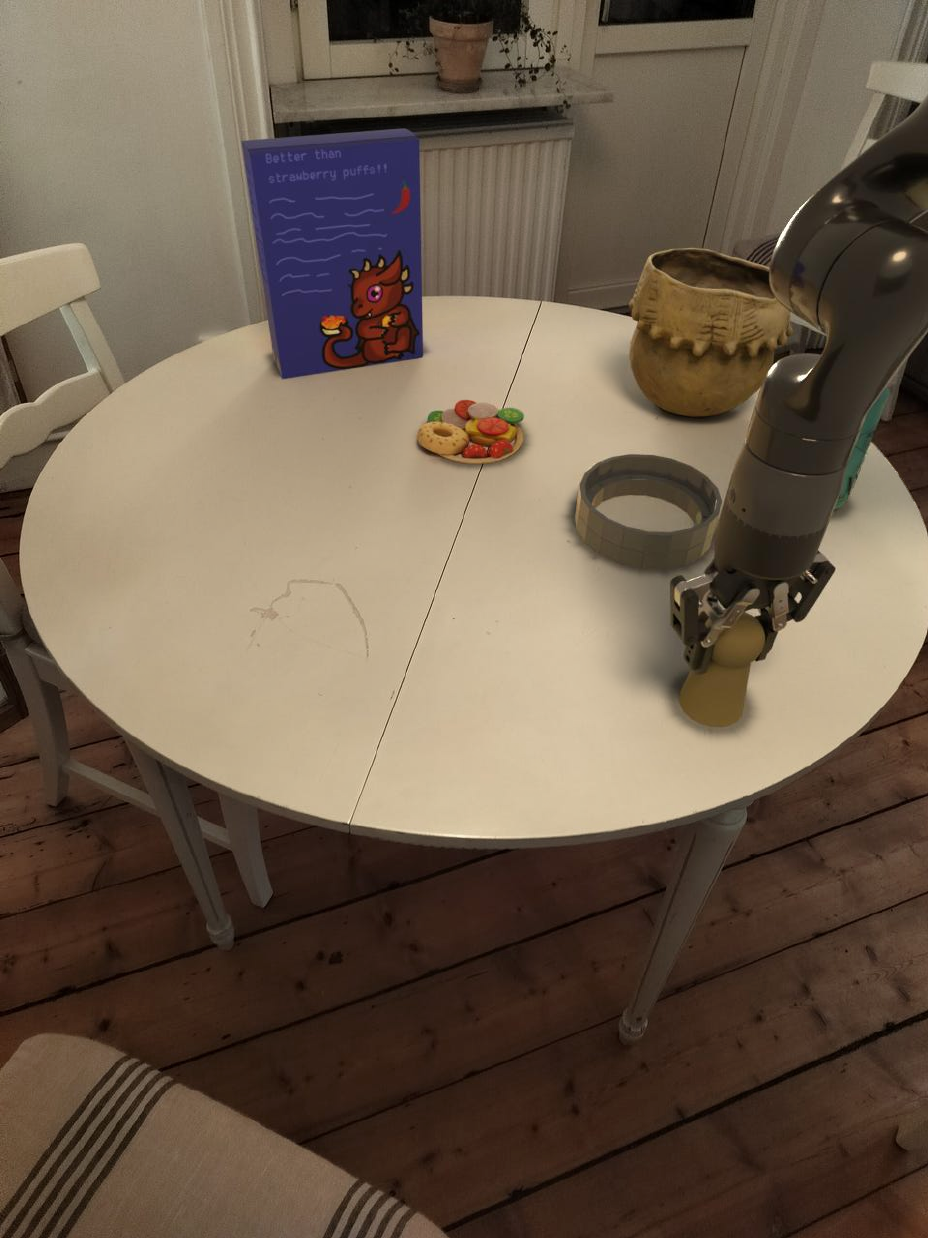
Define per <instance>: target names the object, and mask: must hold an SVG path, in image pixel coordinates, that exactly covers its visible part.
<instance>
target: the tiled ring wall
mask: <svg viewBox="0 0 928 1238" xmlns="http://www.w3.org/2000/svg"><path fill="white" fill-rule="evenodd" d="M625 496H644V497H649V498H655V499H659V500H662V501H665V502H667V503H670V504H672V505H675V506H676V507H678V508H679V509H681V510H682V511H684V512H685V513H686V514H687V516H689V518H691V520H692V521H693V523H694V526H692V527H689V528H685V529H679V530H673V531H651V530H649V531H648V530H644V529H639V528H635V527H632V526H631V527H630V526H627V525H624V524H622V523H619V522H618V521H615V520H613V519H611V518H608V517H607V516H606V515H605V514H603V513H601V512H600V510H598V509H597V507H598V506H600V505H601V504H602V503H604V502H607V501H609V500H611V499H614V498H619V497H625ZM576 501H577V502H576V507H575V514H574V522H575V530H576V533H578V536H579V537H580V538H581V541H582V542H583V544H585V545H586V546H587V547H589V548H590V549H591V550H592V551H594V552H595V553H596V554H597V555H599V556H600V557H603V558H605V559H606V560H609V561H612V562H614V563H616V564H618V565H622V566H627V567H629V568H630V567H631V568H634V569H635V568H636V569H640V570H660V571H662V570H670V569H675V568H681V567H684V566H687V565H689V564H691V563H693V562H695V561H697V560H699V559H701V558H702V557H703V555H705V553H706V552H707V551H708V550H709V549H710V547H711V545H712V541H713V539H714V535H715V532H716V528H717V525H718V521H719V518H720V514H721V510H722V505H723V499H722V497H721V493H720V490H719V487H718V486H717V485H716V484H715V483H714V482H713V481H712V480H711V478H709V476H707V475H706V474H704V473H703V472H701V470H698V468H695V467H694V466H692V465H690V464H687V463H684V462H682V461H679V460H677V459H674V458H670V457H666V456H662V455H661V456H660V455H656V454H643V453H641V454H639V453H637V454H636V453H629V454H622V455H621V454H620V455H615V456H611V457H609V458H605V459H603V460H601V461H598V462H595V463H594V464H593V465H592V466H590V467H589V468H588V469H587V470H586V471H585V472H584V473H583V475H582V478H581V479H580V482H579V484H578V492H577V500H576Z"/></svg>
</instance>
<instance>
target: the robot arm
mask: <svg viewBox="0 0 928 1238" xmlns="http://www.w3.org/2000/svg"><path fill="white" fill-rule="evenodd" d="M926 213H928V94H927V95H926V96H925V97H924V99H923V100H922V101H921V102H920V104H919V105H918V106H917V107H916V109H915V110H914V111H913V112H912V113H911V114H909V116H908V117H907V116H906V118H905V119H904V120H902V121H901V122H900V123H898V125H896V126H894V127H893V128H892V129H891V130H889V131H888V132H886V133H885V134H884V135H883V136H881V137H880V138H879V139H877V140H876V141H875V142H873V143H872V144H871V145H870V146H868V148H867V149H865V150H864V151H863V152H862V153H861V154H859V155H858V156H857V157H856V158H854V159H853V160H852V161H851V162H850V163H848V164H847V165H846V166H845V167H844V168H843V169H841V170H840V171H838V172H837V173H836V174H835V175H834V176H833V177H831V178H830V179H829V180H828V181H827V182H825V184H823V185H822V186H821V187H819V188H818V190H816V191H815V193H813V194H811V196H810V197H809V198H808V199H807V200H806V201H805V202H804V203H803V204H801V206H800V207H799V209H797V211H796V212H795V213H794V215H793V216H792V217H791V219H790V220H789V221H788V222H787V224H786V226H785V228H784V229H783V230H782V233H781V234H780V236H779V238H778V240H777V243H776V244H775V247H774V249H773V252H772V255H771V259H770V264H769V268H770V269H769V283H770V287H771V290H772V293H773V295H774V296H775V298H776V299H777V300H778V301H779V303H780V304H781V305H782V306H784V307H785V308H786V309H787V310H789V311H790V313H792V314H793V315H795V316H796V317H798V318H800V319H801V320H802V321H805V322H806V323H808V324H809V325H811V326H812V327H813V328H815V329H817V330H818V331H820V332H821V333H823V334H824V335H826V340H825V346H824V348H823V350H822V352H821V354H819V353H810V352H809V353H808V352H807V353H806V352H804V353H795V354H791V355H788V356H784V357H782V358H780V359H778V360H777V361H776V362H775V363H773V366H772V367H771V368H770V369H769V371H768V372H767V374H766V376H765V378H764V380H763V382H762V385H761V387H760V388H759V390H758V395H757V398H756V402H755V405H754V408H753V411H752V415H751V418H750V422H749V425H748V428H747V433H746V436H745V440H744V442H743V445H742V447H741V449H740V451H739V453H738V455H737V458H736V460H735V462H734V465H733V468H732V472H731V475H730V479H729V483H728V487H727V489H726V493H725V496H724V500H723V503H722V506H721V510H720V513H719V517H718V520H717V524H716V527H715V531H714V535H713V551H714V554H713V558H712V559H711V561H710V562H709V564H708V565H707V566H706V568H705V569H704V571H703V574H702V575H700V576H696V577H694V578H691V579H688V580H686V578H685V577H684V575H681V574H678V575H676V576H674V577H672V579H671V580H670V582H669V621H670V622H669V623H670V626H671V628H672V630H673V631H674V632H675V633H676V635H677V636H678V638H679V639H680V641H681V642H682V643H683V645H684V646H685V648H684V652H683V655H682V656H683V660H684V661H685V663H686V664H687V666H688V668H690V671H691V670H692V671H694V672H695V674H696V675H700V674H705V673H706V672H707V668H708V665H709V662H710V659H711V656H712V653H713V650H714V647H715V645H714V643H715V641H716V640H717V638H718V637H719V636H720V634H721V633H722V632H723V630H724V629H725V628H727V629H730V628H732V626H733V625H734V624H735V622H736V621H737V620H738V618H739V617H740V616H741V614H742V613H743V612H746V613H747V612H748V611H750V610H757V612H758V613H759V615H753V617H755V618H756V619H757V620H758V621H759V623H760V624H761V625H762V627H763V630H764V634H765V643H764V647H763V650H762V652H761V653H760V654H759V656H758V657H757V658H756V659H755V660H754V662H761V661H764V660H766V658H767V655H768V654H769V653H770V652H771V650H772V649H773V647H774V644H775V642H776V639H777V636H778V633H779V632H781V631H783V630H784V629H785V628H786V627H787V624H788V622H791V621H792V620H793V622H795V623H800V622H802V621H803V620H805V619H806V618H807V616H808V615H809V613H810V612H811V610H812V609H813V607H814V605H815V603H816V602H817V600H818V599H819V597H820V595H821V594H822V593H823V591H824V589H825V588H826V586H827V585H828V583H829V581H830V580H831V578H832V577H833V575H834V573H835V572H836V566H835V565H833V564H832V562H831V561H830V560H829V559H828V558H827V557H826V556H825V555H824V554H823V553H822V552H821V551H820V550H819V549H820V547H821V544H822V541H823V538H824V535H825V534H826V531H827V528H828V526H829V524H830V521H831V519H832V516H833V513H834V511H835V509H834V508H835V506H836V503H837V501H838V498H839V496H840V493H841V490H842V487H843V483H844V478H845V473H846V469H847V466H848V462H849V460H850V457H851V455H852V452H853V450H854V447H855V445H856V442H857V440H858V437H859V434H860V432H861V429H862V427H863V424H864V421H865V418H866V415H867V413H868V412H869V410H870V408H871V407H872V406H873V404H874V403H875V401H876V400H877V399H878V397H879V396H880V395H881V393H882V392H883V391H884V389H885V388H886V386H887V387H888V385H889V384H890V383H891V382H892V380H893V378H894V377H895V376H896V374H897V373H898V372H899V370H900V369H901V368H902V366H903V365H904V363H905V362H906V361H907V359H908V358H909V357H910V356H911V354H912V353H913V352H914V351H915V349H916V348H917V346H918V345H919V344H920V343H921V342H922V340H924V338H925V336H926V335H927V334H928V230H926V229H923V228H922V227H919V226H917V225H915V224H913V223H914V221H916V220H917V219H919V218H920V217H922V216H923V215H925V214H926ZM798 594H800V596H801V598H800V600H799V601H797V600H796V598H797V596H798ZM721 606H722V607H721ZM725 609H726V611H725V612H724V610H725ZM709 618H710V619H711V624H710V626H709V627H708V628H707V626H706V625H705V623H706V621H707V620H708V619H709Z"/></svg>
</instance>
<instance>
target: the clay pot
mask: <svg viewBox="0 0 928 1238" xmlns="http://www.w3.org/2000/svg"><path fill="white" fill-rule="evenodd" d="M769 269H770V266H766V265H763V264H759V263H756V262H753V261H750V260H747V259H743V258H740V257H735V256H730V255H727V254H723V253H720V252H718V251H715V250H711V249H708V248H697V247H685V248H670V249H667V250H662V251H657V252H655V253H652V254H650V255H648V257H647V260H646V262H645V264H644V267H643V269H642V272H641V275H640V278H639V281H638V283H637V286H636V289H635V290H634V294H633V296H632V298H631V299H630V300H629V303H628V307H629V309H630V310H631V318H632V320H633V321H634V322H635V321H636V322H637V323H636V327H635V329H634V331H633V334H632V336H631V340H630V345H629V354H628V356H629V363H630V368H631V372H632V375H633V377H634V379H635V381H636V384H637V386H638V387H639V389H640V390H641V391H642V393H643V394H644V396H645V397H646V398H647V399H648V400H649V401H650V402H652V403H653V404H654V405H655V406H657V407H659V408H661V409H662V410H664V411H666V412H667V413H671V414H674V415H681V416H686V417H696V418H697V417H709V416H716V415H720V414H724V413H726V412H729V411H731V410H734V409H735V408H737V407H739V406H740V405H742V404H743V403H745V402H746V401H747V400H748V399H750V398H751V397H752V396H753V395H754V394H755V393H756V392H759V391H760V388H761V385H762V382H763V380H764V378H765V376H766V374H767V372H768V371H769V369H770V368H771V367H772V366H773V365H774V359H775V352H776V350H777V349H778V345H779V346H784V345H785V344H787V343H788V337H792V335H793V333H794V330H793V328H792V326H791V312H790V311H789V310H787V309H786V308H785V307H784V306H782V305H781V304H780V303H779V301H778V300H777V299H776V298H775V296H774V295H773V293H772V290H771V287H770V283H769Z"/></svg>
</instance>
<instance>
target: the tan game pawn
mask: <svg viewBox="0 0 928 1238" xmlns="http://www.w3.org/2000/svg"><path fill="white" fill-rule="evenodd" d="M723 610H724V612H725V611H726V609H725V608H724V609H723ZM710 624H711V619H710V618H709V619H708V620H707V621H706V623H705V625H706V626H707V628H708V627H709V626H710ZM764 643H765V634H764V630H763V627H762V625H761V624H760V623H759V621H758V620H757V619H756V618H755V617H754V615H752V614H750V613H748V612H747V611H746V612H743V613H742V614H741V616H740V617H739V618H738V620H737V621H736V622H735V624H734V625H733V626H732V628H730V629H727V628H725V629H724V630H723V632H722V633H721V634H720V636H719V637H718V638H717V640H716V641H715V643H714V645H715V647H714V650H713V653H712V656H711V659H710V662H709V665H708V668H707V672H706V673H705V674H700V675H696V674H695V672H694V671H692V670H691V669H690V671H689V673H688V675H687V677H686V679H685V681H684V683H683V685H682V687H681V689H680V691H679V694H678V701H679V705H680V707H681V709H682V710H683V713H684V714H686V715H687V716H688V718H690V719H691V720H693V721H694V722H696V723H698V724H700V725H703V726H707V727H710V728H726V727H730V726H733V724H736V723H737V722H738V721H739V720H740V719H741V717H742V716H743V713H744V712H743V711H744V707H745V701H746V695H747V690H748V684H749V678H750V671H751V666H752V663H753V662H755V659H756V658H757V657H758V656H759V654H760V653H761V652H762V650H763V647H764Z"/></svg>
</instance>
